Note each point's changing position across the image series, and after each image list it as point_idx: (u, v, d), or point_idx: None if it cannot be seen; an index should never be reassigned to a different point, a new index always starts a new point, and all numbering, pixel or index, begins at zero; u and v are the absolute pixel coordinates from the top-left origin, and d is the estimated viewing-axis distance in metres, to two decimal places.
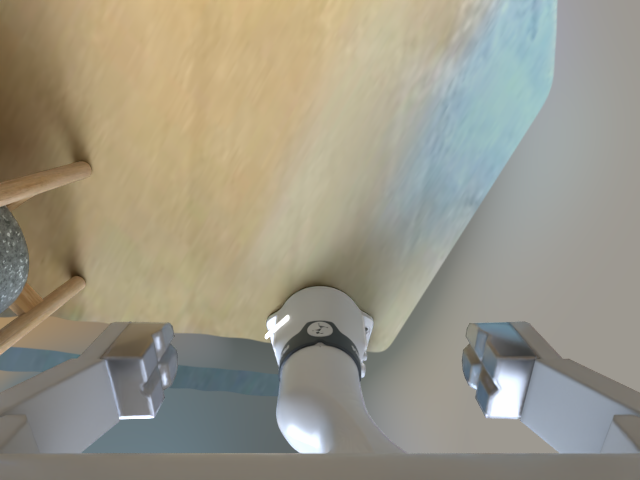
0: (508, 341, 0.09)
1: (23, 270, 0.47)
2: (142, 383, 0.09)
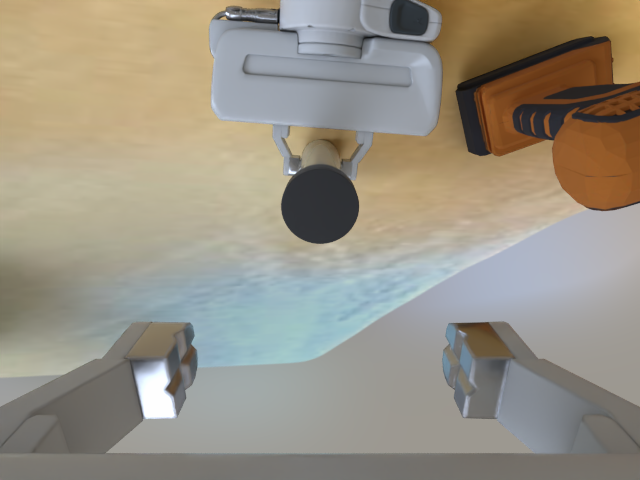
0: (485, 341, 0.09)
1: None
2: (166, 383, 0.09)
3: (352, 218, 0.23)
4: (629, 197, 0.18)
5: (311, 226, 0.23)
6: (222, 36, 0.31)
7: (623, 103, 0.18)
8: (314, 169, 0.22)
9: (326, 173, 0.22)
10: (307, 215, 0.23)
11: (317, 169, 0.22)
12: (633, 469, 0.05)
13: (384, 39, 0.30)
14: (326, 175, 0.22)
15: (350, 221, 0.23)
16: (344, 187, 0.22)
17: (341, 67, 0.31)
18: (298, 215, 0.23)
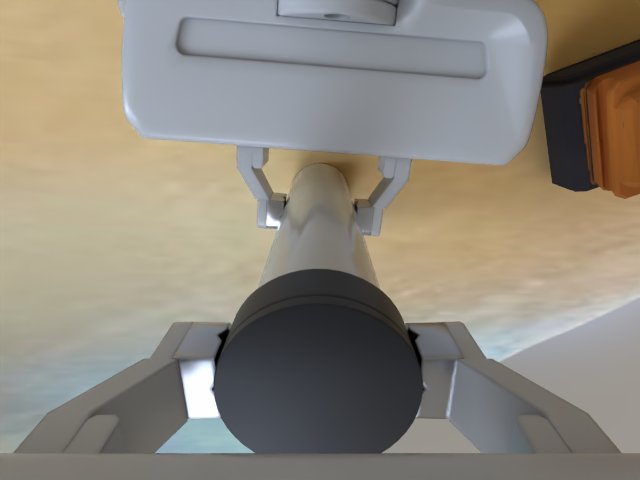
0: (437, 341, 0.09)
1: None
2: (212, 383, 0.09)
3: (403, 418, 0.09)
4: None
5: (294, 434, 0.09)
6: None
7: None
8: (301, 304, 0.08)
9: (336, 315, 0.08)
10: (284, 412, 0.09)
11: (310, 304, 0.08)
12: (633, 469, 0.05)
13: None
14: (336, 320, 0.08)
15: (396, 425, 0.09)
16: (386, 349, 0.08)
17: (358, 42, 0.17)
18: (260, 412, 0.09)
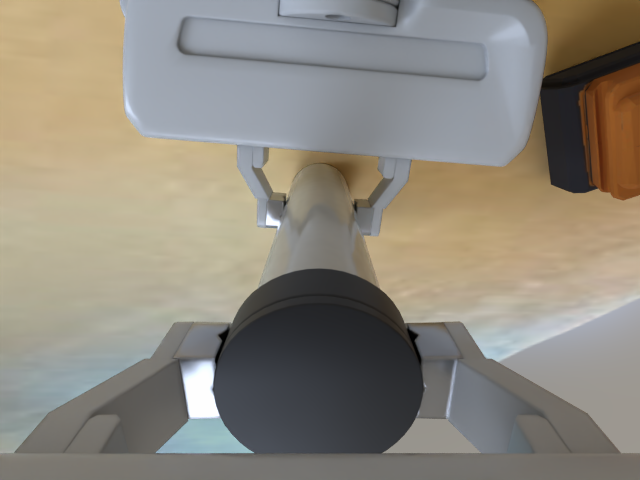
0: (436, 341, 0.09)
1: None
2: None
3: (378, 331, 0.08)
4: None
5: (359, 425, 0.09)
6: None
7: None
8: (215, 378, 0.08)
9: (231, 359, 0.08)
10: (328, 425, 0.09)
11: (216, 374, 0.08)
12: (633, 469, 0.05)
13: None
14: (236, 360, 0.08)
15: (385, 340, 0.08)
16: (282, 328, 0.08)
17: (359, 43, 0.17)
18: (320, 442, 0.09)
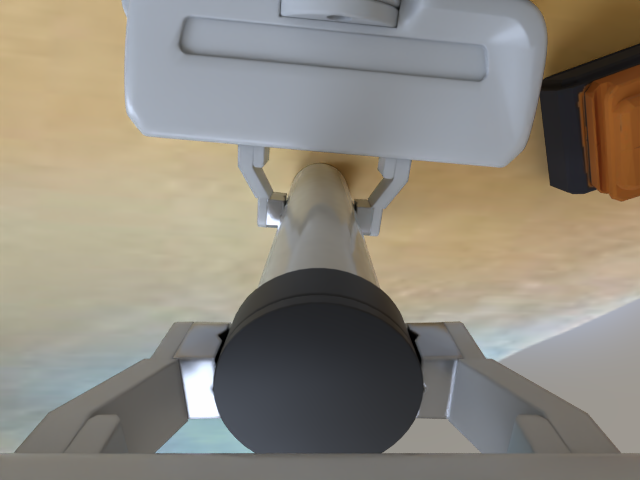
0: (437, 341, 0.09)
1: None
2: None
3: (259, 329, 0.08)
4: None
5: (370, 372, 0.08)
6: None
7: None
8: None
9: (254, 444, 0.09)
10: (358, 397, 0.08)
11: None
12: (633, 469, 0.05)
13: None
14: (257, 440, 0.09)
15: (271, 326, 0.08)
16: (233, 401, 0.08)
17: (360, 43, 0.17)
18: (378, 408, 0.09)
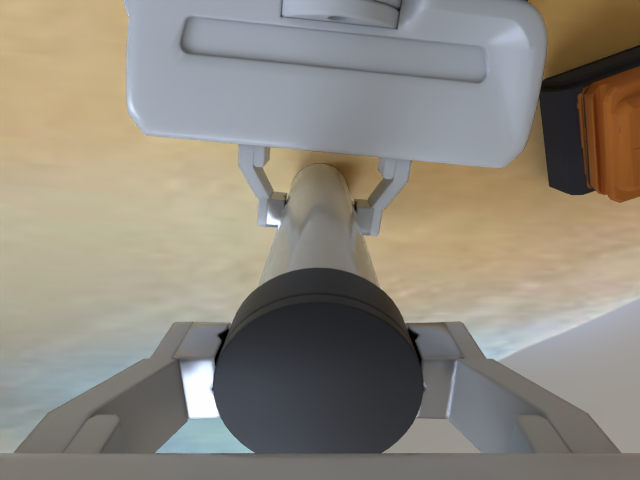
0: (437, 341, 0.09)
1: None
2: (212, 383, 0.09)
3: (231, 416, 0.09)
4: None
5: (306, 347, 0.08)
6: None
7: None
8: (385, 446, 0.09)
9: None
10: (333, 363, 0.08)
11: (380, 451, 0.09)
12: (633, 469, 0.05)
13: None
14: None
15: (230, 408, 0.09)
16: None
17: (361, 44, 0.17)
18: (354, 351, 0.08)
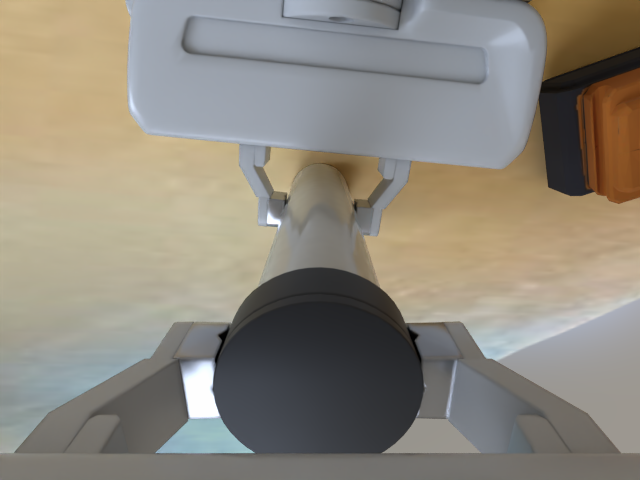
0: (436, 341, 0.09)
1: None
2: None
3: None
4: None
5: (259, 388, 0.08)
6: None
7: None
8: (414, 353, 0.08)
9: (413, 383, 0.08)
10: (285, 373, 0.08)
11: (417, 360, 0.08)
12: (633, 469, 0.05)
13: None
14: (407, 384, 0.08)
15: None
16: (389, 427, 0.09)
17: (362, 45, 0.17)
18: (276, 354, 0.08)
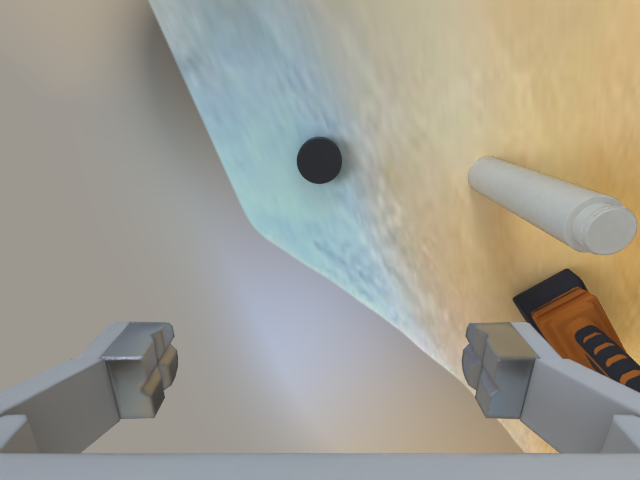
0: (508, 341, 0.09)
1: None
2: (142, 383, 0.09)
3: (319, 181, 0.40)
4: None
5: (307, 160, 0.40)
6: None
7: None
8: (339, 151, 0.39)
9: (339, 158, 0.39)
10: (312, 156, 0.39)
11: (339, 153, 0.39)
12: (633, 469, 0.05)
13: None
14: (338, 159, 0.39)
15: (316, 180, 0.40)
16: (334, 170, 0.40)
17: None
18: (310, 151, 0.39)
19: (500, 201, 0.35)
